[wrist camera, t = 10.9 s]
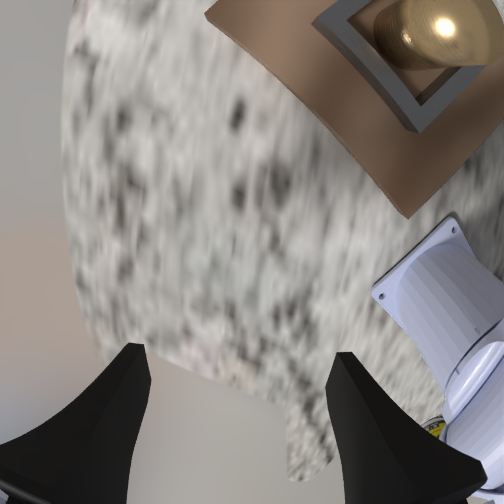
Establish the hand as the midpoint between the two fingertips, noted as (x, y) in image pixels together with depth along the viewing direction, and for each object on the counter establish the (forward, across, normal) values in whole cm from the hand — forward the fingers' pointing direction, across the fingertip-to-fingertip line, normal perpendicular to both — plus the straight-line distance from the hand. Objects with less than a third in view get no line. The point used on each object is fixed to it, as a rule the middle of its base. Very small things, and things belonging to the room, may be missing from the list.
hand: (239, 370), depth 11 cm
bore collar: (+8, -8, -14) cm, 18 cm away
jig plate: (+9, -8, -14) cm, 19 cm away
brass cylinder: (+8, -8, -14) cm, 18 cm away
